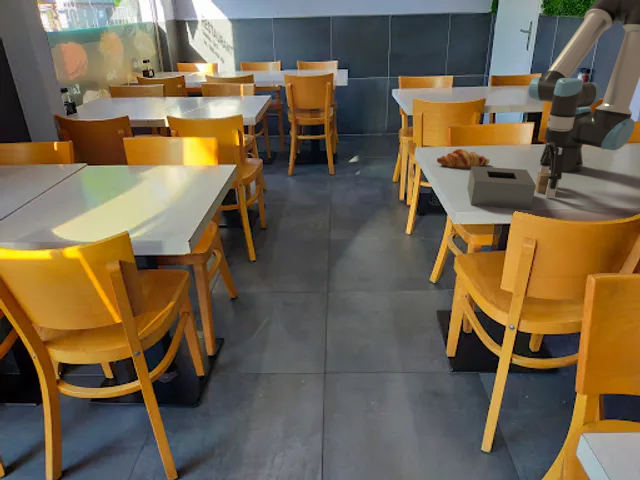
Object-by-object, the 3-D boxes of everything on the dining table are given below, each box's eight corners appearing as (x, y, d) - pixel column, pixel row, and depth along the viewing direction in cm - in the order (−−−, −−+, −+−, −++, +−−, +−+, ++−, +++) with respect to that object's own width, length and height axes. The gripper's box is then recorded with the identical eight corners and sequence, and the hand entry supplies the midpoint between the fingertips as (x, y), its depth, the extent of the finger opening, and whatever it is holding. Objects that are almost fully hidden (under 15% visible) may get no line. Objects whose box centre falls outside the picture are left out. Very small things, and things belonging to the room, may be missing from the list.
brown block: (553, 190, 168) (556, 173, 165) (555, 194, 164) (559, 177, 162) (534, 188, 169) (538, 172, 166) (537, 192, 165) (540, 175, 163)
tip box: (522, 192, 165) (526, 169, 162) (530, 209, 151) (535, 185, 148) (467, 188, 168) (470, 166, 165) (470, 204, 154) (474, 180, 151)
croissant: (484, 171, 198) (483, 152, 198) (495, 166, 188) (494, 146, 188) (433, 171, 196) (433, 151, 196) (441, 166, 186) (441, 145, 186)
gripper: (539, 120, 169) (527, 178, 178) (555, 137, 147) (541, 202, 156) (562, 121, 167) (549, 179, 177) (582, 138, 145) (566, 204, 155)
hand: (545, 190), depth 166 cm, fingers open, 13 cm apart
